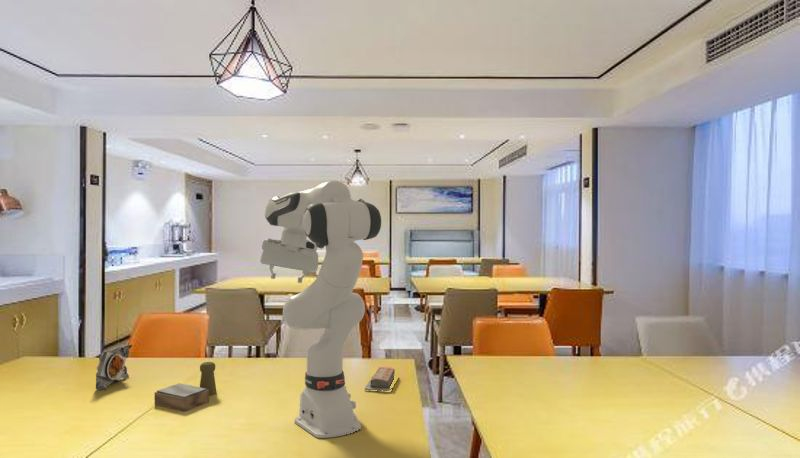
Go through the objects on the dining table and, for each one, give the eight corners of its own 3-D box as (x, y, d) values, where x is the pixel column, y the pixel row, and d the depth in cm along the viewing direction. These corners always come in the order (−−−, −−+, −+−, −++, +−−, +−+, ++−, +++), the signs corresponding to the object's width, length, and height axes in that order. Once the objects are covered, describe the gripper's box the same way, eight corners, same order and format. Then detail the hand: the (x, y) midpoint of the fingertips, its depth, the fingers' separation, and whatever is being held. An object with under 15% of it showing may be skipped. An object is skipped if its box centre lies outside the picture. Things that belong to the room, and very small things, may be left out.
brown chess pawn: (219, 390, 181) (219, 360, 180) (211, 396, 175) (211, 365, 174) (203, 390, 181) (203, 359, 181) (195, 395, 175) (195, 364, 175)
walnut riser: (179, 395, 176) (179, 382, 176) (208, 401, 169) (208, 388, 169) (154, 404, 167) (154, 391, 167) (184, 411, 160) (184, 397, 160)
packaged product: (374, 365, 199) (399, 366, 197) (374, 377, 199) (399, 379, 197) (364, 379, 181) (391, 380, 179) (364, 392, 181) (391, 394, 179)
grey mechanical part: (106, 390, 181) (106, 354, 181) (95, 390, 181) (95, 353, 181) (132, 377, 196) (132, 344, 195) (122, 377, 196) (122, 344, 196)
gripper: (264, 236, 175) (256, 275, 172) (321, 246, 180) (315, 284, 177) (263, 239, 181) (256, 276, 178) (319, 248, 186) (313, 285, 183)
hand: (286, 280), depth 177 cm, fingers open, 8 cm apart
